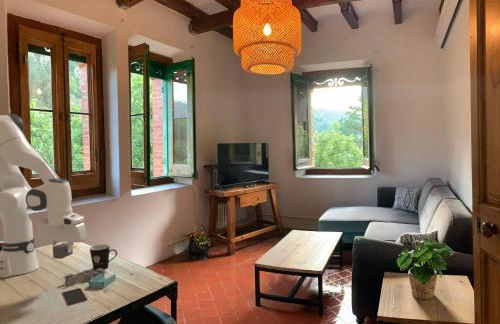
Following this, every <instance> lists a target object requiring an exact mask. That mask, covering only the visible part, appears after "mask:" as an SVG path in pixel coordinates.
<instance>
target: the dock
mask: <svg viewBox="0 0 500 324" xmlns="http://www.w3.org/2000/svg"><path fill="white" fill-rule="evenodd" d="M92 278H93V277H92ZM115 281H117V278H116V274H115V273H114V274H112V275H111V276H109V277H108V278H107V277H106V278H105V277H103V275H102V273H101V274H99V275H98V276H96V277H95V278H93V279H91V280H88V287H89V288H92V289H93V288H97V289H105V288H107V286H109V285H111V284H112V283H113V282H115Z"/></svg>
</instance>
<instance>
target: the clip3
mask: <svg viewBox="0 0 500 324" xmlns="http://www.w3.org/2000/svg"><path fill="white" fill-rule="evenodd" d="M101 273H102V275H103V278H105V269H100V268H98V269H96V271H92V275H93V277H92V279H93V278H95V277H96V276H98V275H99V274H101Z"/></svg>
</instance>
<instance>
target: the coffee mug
mask: <svg viewBox="0 0 500 324" xmlns="http://www.w3.org/2000/svg"><path fill="white" fill-rule="evenodd" d="M110 247H111V246H110V244H107V243H102V244H95V245H92V246H90V247H89V253H90V257H91V262H92V263H91V265H92V268H93V270H94V272H97V271H96V269H98V268H100V269H104V270H107V269H109V265H110V264H109V263H110V262H111V261H112V260H114V259H115V258H116V257H117V255H118V252H117V250H116V249H113V248H112V249H111V248H110ZM112 251H113V252H115V255H114V256H113V257H112V258H110V253H111V252H112Z"/></svg>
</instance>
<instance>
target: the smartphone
mask: <svg viewBox="0 0 500 324" xmlns="http://www.w3.org/2000/svg"><path fill="white" fill-rule="evenodd" d="M61 295H62V297H63V300H64V301H65V304H66V306H67V307H68V306H69V307H70V306H73V305H77V304H81V303H85V302H87V301H88V298H87V295H86V294H85V293H84V291H83V289H82V288H81V287H80V288H75V289H71V290H66V291H63V292H61Z"/></svg>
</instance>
